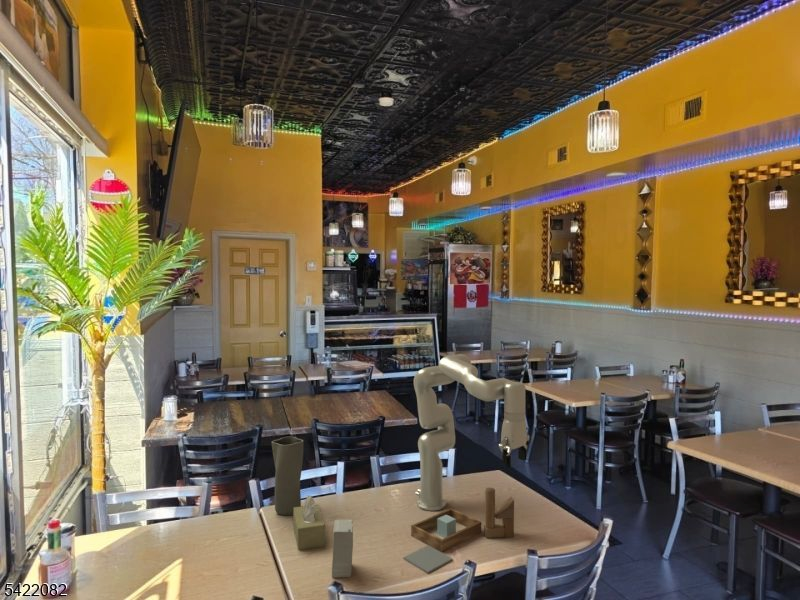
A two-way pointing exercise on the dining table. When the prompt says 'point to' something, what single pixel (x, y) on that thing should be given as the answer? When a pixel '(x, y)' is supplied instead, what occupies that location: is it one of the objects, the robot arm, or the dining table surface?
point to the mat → (427, 559)
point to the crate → (444, 544)
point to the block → (446, 526)
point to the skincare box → (342, 548)
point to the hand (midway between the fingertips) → (514, 462)
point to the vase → (287, 473)
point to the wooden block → (498, 516)
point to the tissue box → (309, 525)
